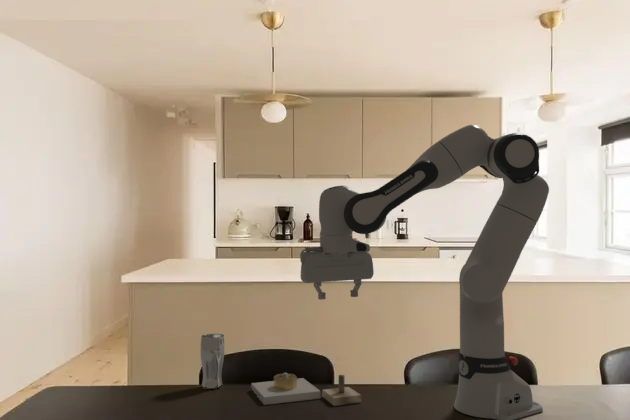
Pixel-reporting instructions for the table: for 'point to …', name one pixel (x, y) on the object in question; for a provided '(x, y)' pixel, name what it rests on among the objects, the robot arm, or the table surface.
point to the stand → (341, 394)
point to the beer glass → (212, 359)
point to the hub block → (285, 392)
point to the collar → (285, 382)
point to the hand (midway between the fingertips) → (338, 298)
